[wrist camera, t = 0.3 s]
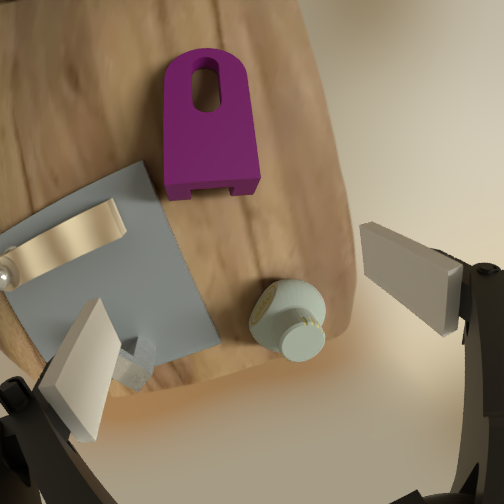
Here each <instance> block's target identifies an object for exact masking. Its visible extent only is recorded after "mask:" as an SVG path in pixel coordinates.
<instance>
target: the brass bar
mask: <svg viewBox="0 0 504 504" xmlns="http://www.w3.org/2000/svg"><path fill="white" fill-rule="evenodd" d="M126 232H127V230H126V228H125V226H124V224H123V221H122V219H121V217H120V214H119V212H118V209H117V207H116V205H115V202H114V200H113V198H111V199H109V200H107V201H105V202H102V203H100V204H98V205H96V206H94V207H92V208H90V209H88V210H86V211H84V212H82V213H80V214H78V215H76V216H74V217H72V218H70V219H68V220H66V221H64V222H62V223H60V224H58V225H56V226H54V227H53V228H51V229H49V230H47V231H45V232H43V233H41V234H40V235H38V236H36V237H34V238H32V239H31V240H29V241H27V242H25V243H23V244H22V245H20V246H18V247H16V248H15V249H10V250H8V251H6V252H5V253H3V254H2V255H0V265H6V266H8V267H9V268H10V270H11V272H12V275H13V279H12V282H11V283H10V284H9V285H8V286H7V287H6V288H4V289H3V290H5V291H14V290H16V289H17V288H18V287H19V286H20V285H22V284H24V283H26V282H28V281H30V280H32V279H34V278H36V277H38V276H40V275H42V274H44V273H46V272H48V271H50V270H52V269H54V268H56V267H58V266H60V265H62V264H64V263H66V262H69V261H71V260H73V259H75V258H77V257H79V256H81V255H84V254H86V253H88V252H90V251H92V250H94V249H97V248H99V247H101V246H103V245H106V244H108V243H110V242H112V241H115V240H117V239H119V238H121V237H122V236H123V235H124V234H125V233H126Z"/></svg>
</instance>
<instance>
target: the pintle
mask: <svg viewBox="0 0 504 504" xmlns="http://www.w3.org/2000/svg"><path fill="white" fill-rule="evenodd" d="M16 247H18V246H11V247H9V248H7V249H6V250H5V251H4V253H5V252H6V251H8V250H10V249H15V248H16ZM12 279H13V275H12V272H11V270H10V268H9V267H8V266H6V265H0V291H1V290H3V289H4V288H6V287H7V286H8V285H9V284H10V283H11V282H12Z"/></svg>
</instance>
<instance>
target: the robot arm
mask: <svg viewBox="0 0 504 504" xmlns="http://www.w3.org/2000/svg"><path fill="white" fill-rule="evenodd" d="M359 227H360V236H361V244H362V254H363V263H364V274H365V276H367V277H368V278H369V279H371V280H372V281H373V282H375V283H376V284H377V285H378V286H380V287H381V288H382V289H384V290H385V291H386V292H387V293H389V294H390V295H392V296H393V297H394V298H395V299H396V300H398V301H399V302H400V303H401V304H403V305H404V306H405V307H406V308H408V309H409V310H410V311H411V312H413V313H414V314H415V315H416V316H418V317H419V318H420V319H421V320H423V321H424V322H425V323H426V324H427V325H429V326H430V327H431V328H432V329H434V330H435V331H436V332H437V333H438V334H440V335H441V336H442V337H445V336H447V335H449V334H450V333H452V332H454V331H456V330H457V328H458V320H459V316H460V317H461V318H463V319H464V320H465V327H464V334H463V340H462V345H464V344H465V394H464V412H463V424H462V434H461V443H460V452H459V459H458V465H457V472H456V476H455V480H454V482H453V486H452V488H451V491H450V493H442V494H434V495H430V496H425V497H422V496H421V495H420V493H419V492H418V490H415V491H413V492H412V493H410V494H408V495H406V496H404V497H402V498H400V499H398V500H396V501H394V502H392V503H390V504H504V270H501V269H500V268H499V267H498V266H496V265H494V264H491V263H478V264H475V265H473V266H471V265H469V264H467V263H465V262H463V261H461V260H459V259H457V258H454V257H453V256H451V255H448V254H447V253H445V252H443V251H441V250H437V249H432V248H428V247H426V246H424V245H422V244H420V243H418V242H416V241H413V240H411V239H409V238H407V237H405V236H403V235H401V234H399V233H396V232H394V231H392V230H390V229H388V228H385V227H383V226H381V225H379V224H376V223H374V222H369V223H365V224H362V225H360V226H359ZM120 347H121V342H120V340H119V338H118V336H117V334H116V332H115V330H114V328H113V325H112V323H111V321H110V319H109V317H108V314H107V312H106V310H105V308H104V305H103V303H102V301H101V298H96V299H93V300H89V301H87V302H86V303H85V305H84V307H83V308H82V310H81V311H80V313H79V315H78V316H77V318H76V320H75V321H74V323H73V325H72V326H71V328H70V330H69V332H68V333H67V335H66V337H65V339H64V340H63V342H62V344H61V346H60V347H59V349H58V351H57V353H56V355H54V356H53V357H52V358H51V359H50V360H49V361H48V362H47V364H46V366H45V368H44V369H43V372H42V373H41V375H40V378H39V379H38V381H37V382H36V384H35V386H34V388H33V390H32V391H31V390H30V388H29V387H28V386H27V384H26V382H25V381H24V379H23V378H22V377H20V376H16V377H12V378H10V379H8V380H6V381H5V382H4V383H2V384H1V385H0V403H1V404H2V406H3V407H4V408H5V410H6V411H7V412H8V414H9V415H7V416H5V417H2V418H0V504H42V502H41V497H40V492H41V494H42V496H43V498H44V500H45V502H46V504H118V503H117V502H116V501H115V500H114V499H113V498H112V496H111V495H110V494H109V493H108V492H107V490H106V489H105V488H104V487H103V485H101V483H100V482H99V480H98V479H97V478H96V477H95V476H94V474H93V473H92V471H91V470H90V469H89V467H88V466H87V465H86V463H85V462H84V461H83V459H82V458H81V456H80V455H79V454H78V452H77V451H76V449H75V448H74V446H73V445H72V444H71V443H70V441H69V440H68V439H69V435H70V432H71V433H72V435H73V436H74V437H75V438H76V440H77V441H78V442H93V441H96V438H97V434H98V429H99V425H100V421H101V417H102V412H103V408H104V405H105V401H106V397H107V393H108V389H109V386H110V382H111V378H112V375H113V371H114V368H115V364H116V361H117V357H118V354H119V351H120ZM39 490H40V492H39Z"/></svg>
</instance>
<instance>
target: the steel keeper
mask: <svg viewBox="0 0 504 504" xmlns="http://www.w3.org/2000/svg"><path fill="white" fill-rule="evenodd" d="M155 353H156V346H155V345H153V344H151V343H150V342H148V341H146V340H145V339H143V338H141V337H140V336H138V337H137V339H136V340H135V342H134V343H133V344H132V346H131V347H130V349H129V350H128V352H126V351H124V350H123V349H121V348H120V351H119V354H118V357H117V361H116V364H115V368H114V371H113V375H112V378H113V379H115V380H116V381H118V382H120V383H122V384H124V385H126V386H127V387H129V388H131V389H133V390H135V391H137V392H139V391H140V390H141V388H142V387H143V386H144V384H145V383H146V382H147V381H148V379H149V378H150V377H151V376H152V374H153V368H154V360H155Z"/></svg>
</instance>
